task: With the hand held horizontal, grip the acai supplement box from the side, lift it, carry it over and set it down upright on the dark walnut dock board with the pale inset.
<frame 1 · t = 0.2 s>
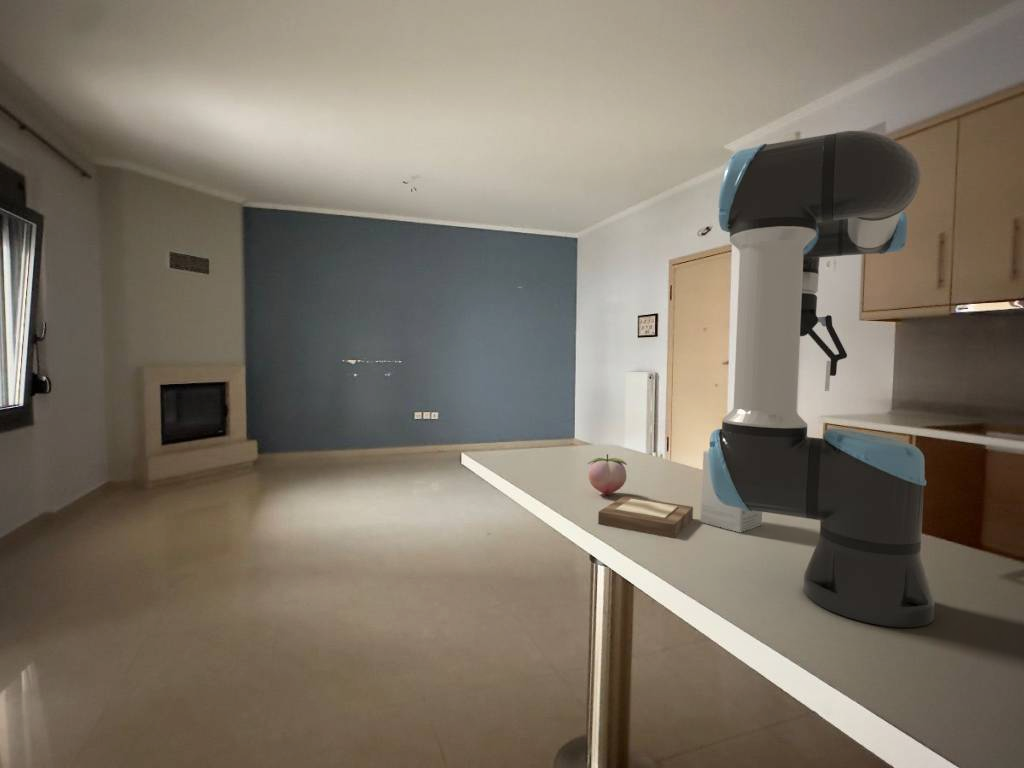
hand: (792, 389, 123), 27 cm above the table, tool pointing down, fingers open, 13 cm apart
supplement box: (731, 525, 111), on the table
dock: (646, 521, 112), on the table
decorative fruit: (606, 495, 133), on the table
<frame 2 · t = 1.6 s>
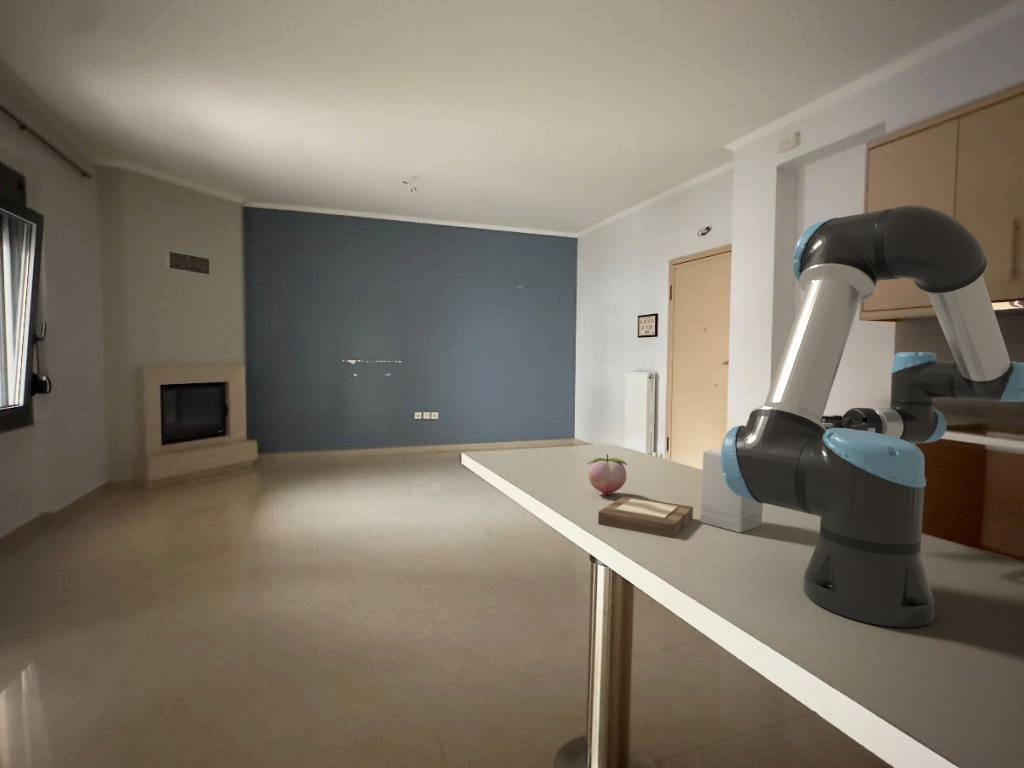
hand: (778, 426, 111), 20 cm above the table, tool horizontal, fingers open, 13 cm apart
nothing on the table moved.
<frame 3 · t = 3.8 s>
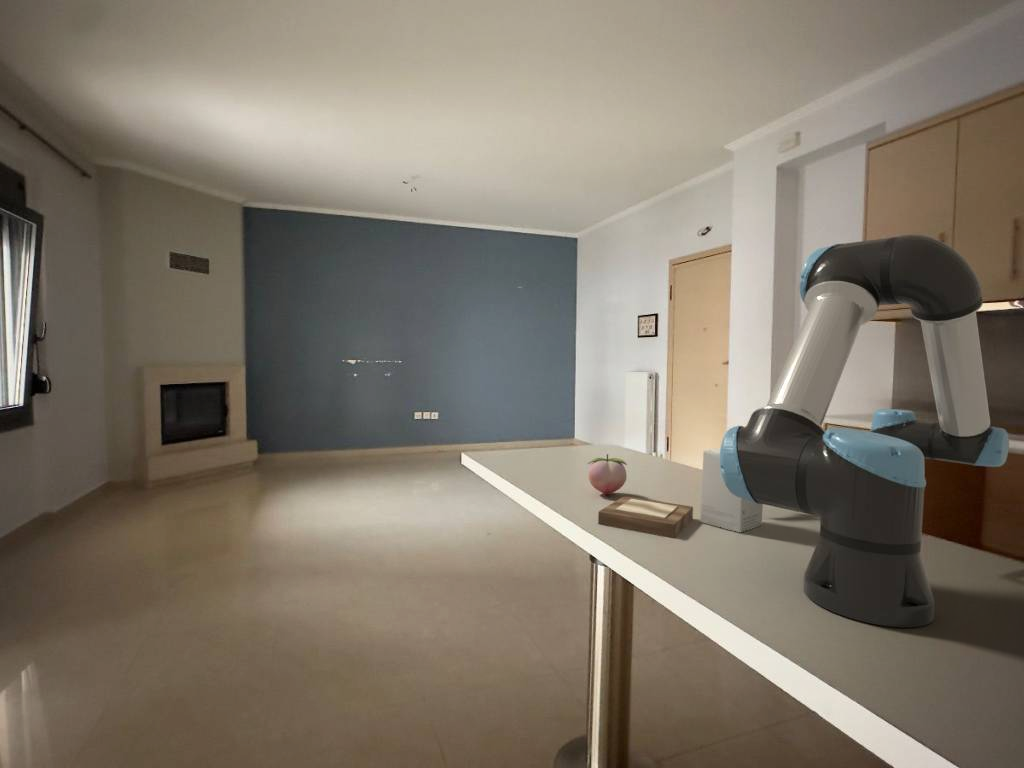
hand: (755, 484, 112), 8 cm above the table, tool horizontal, fingers open, 13 cm apart
nothing on the table moved.
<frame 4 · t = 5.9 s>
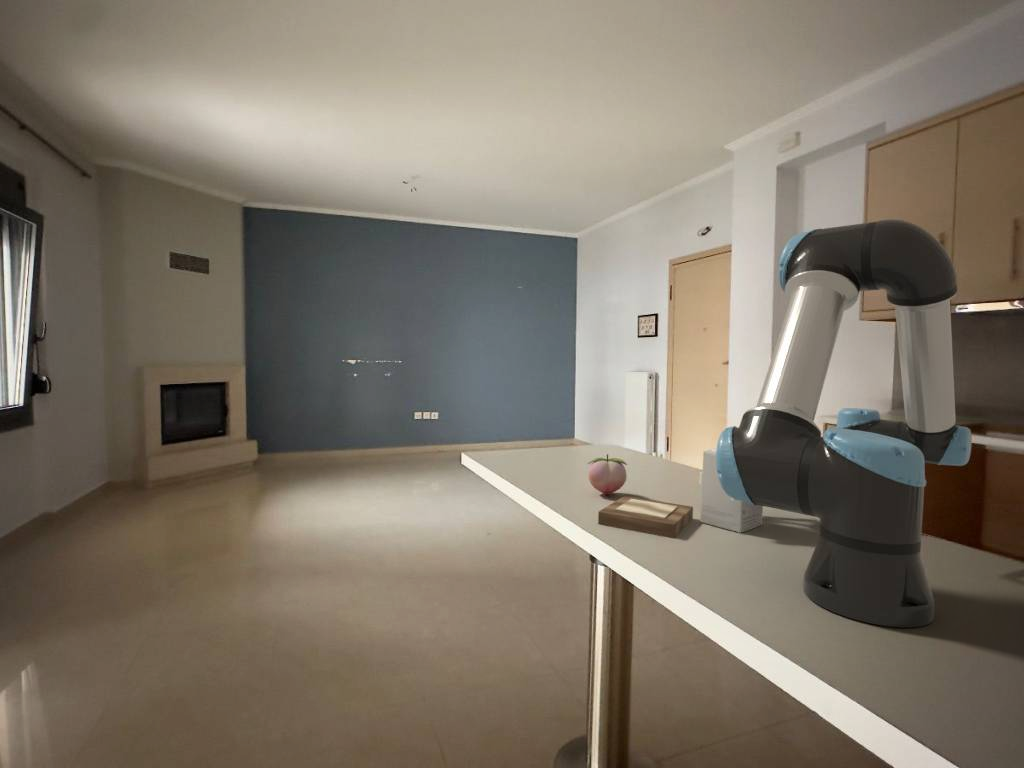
hand: (715, 485, 110), 8 cm above the table, tool horizontal, fingers closed on supplement box, 12 cm apart
supplement box: (731, 525, 111), on the table, touching gripper
everything else where it was.
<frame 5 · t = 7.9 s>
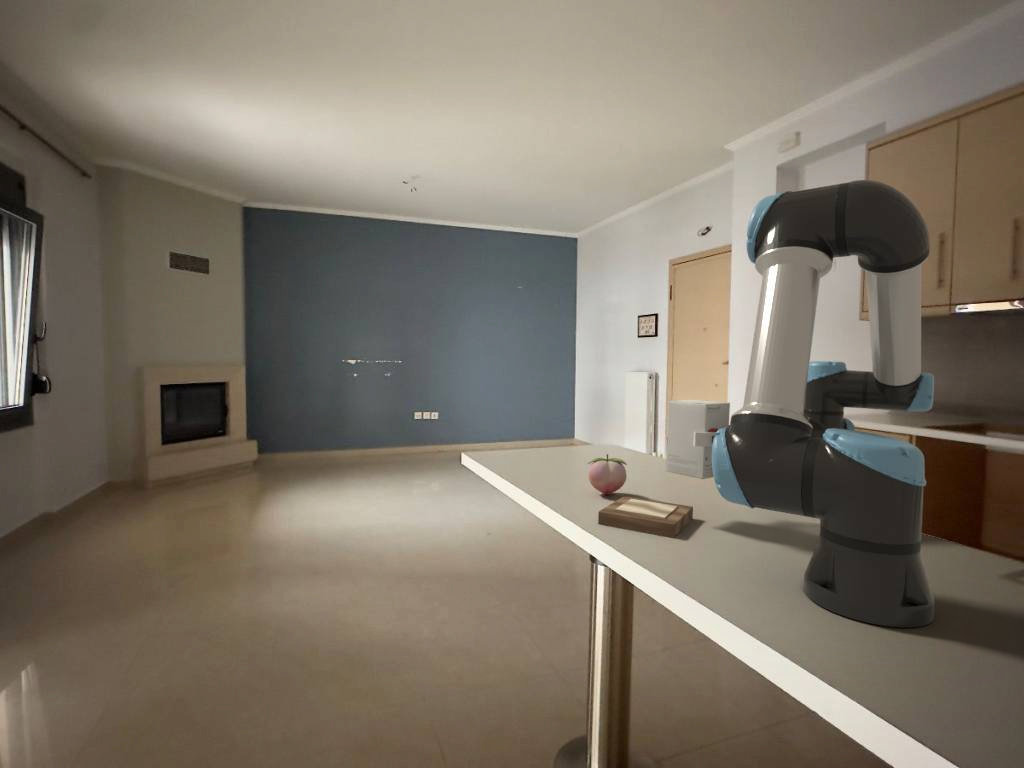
hand: (680, 434, 111), 18 cm above the table, tool horizontal, fingers closed on supplement box, 12 cm apart
supplement box: (696, 474, 112), point 10 cm above the table, touching gripper
everything else where it was.
when the fingers open (12 cm above the table, at t = 10.2 s): supplement box drops 1 cm, resting on dock.
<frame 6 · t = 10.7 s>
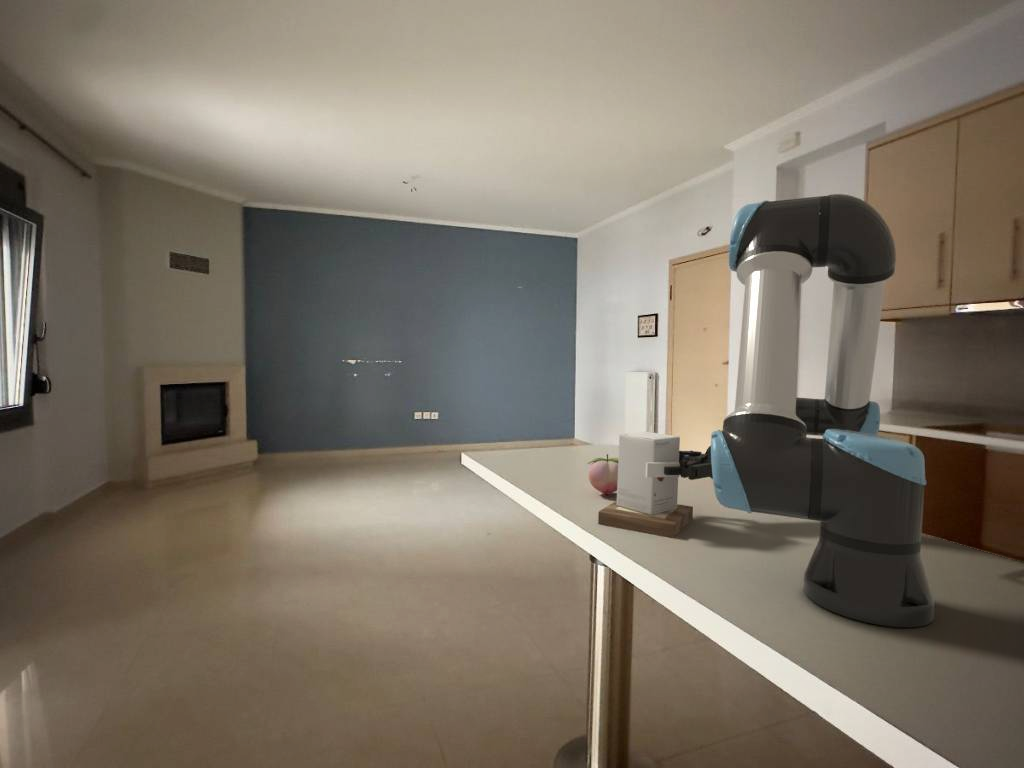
hand: (632, 463, 111), 12 cm above the table, tool horizontal, fingers open, 13 cm apart
supplement box: (646, 508, 112), point 3 cm above the table, touching dock
everything else where it was.
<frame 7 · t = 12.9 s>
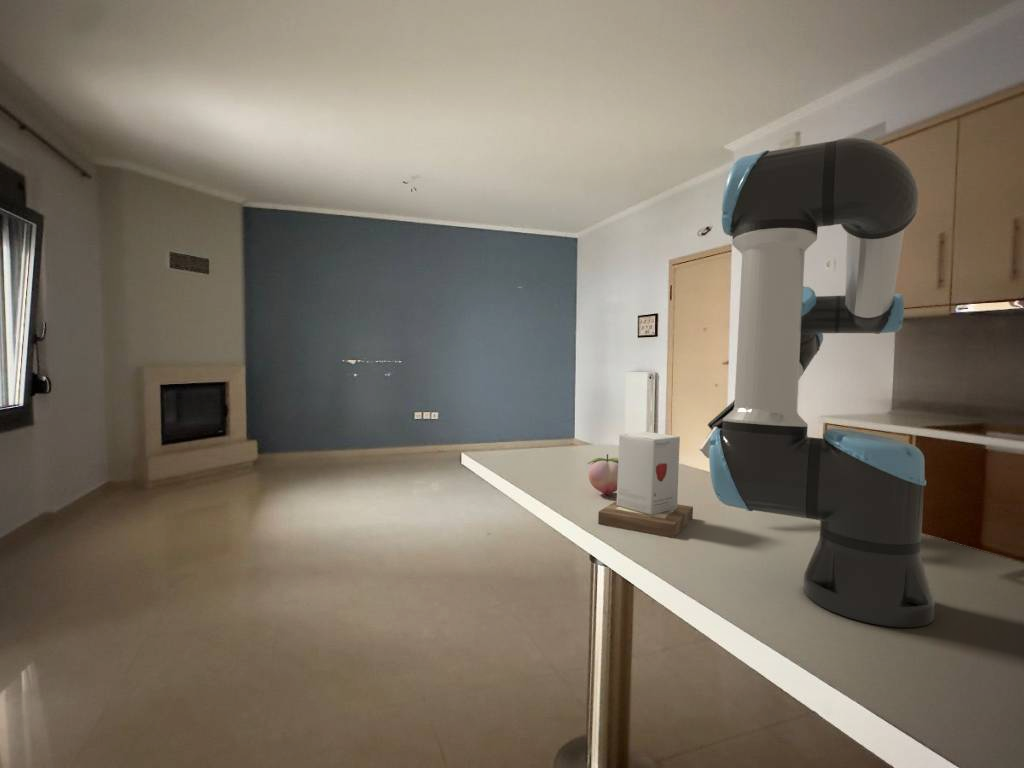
hand: (728, 453, 109), 15 cm above the table, tool tilted 45°, fingers open, 13 cm apart
nothing on the table moved.
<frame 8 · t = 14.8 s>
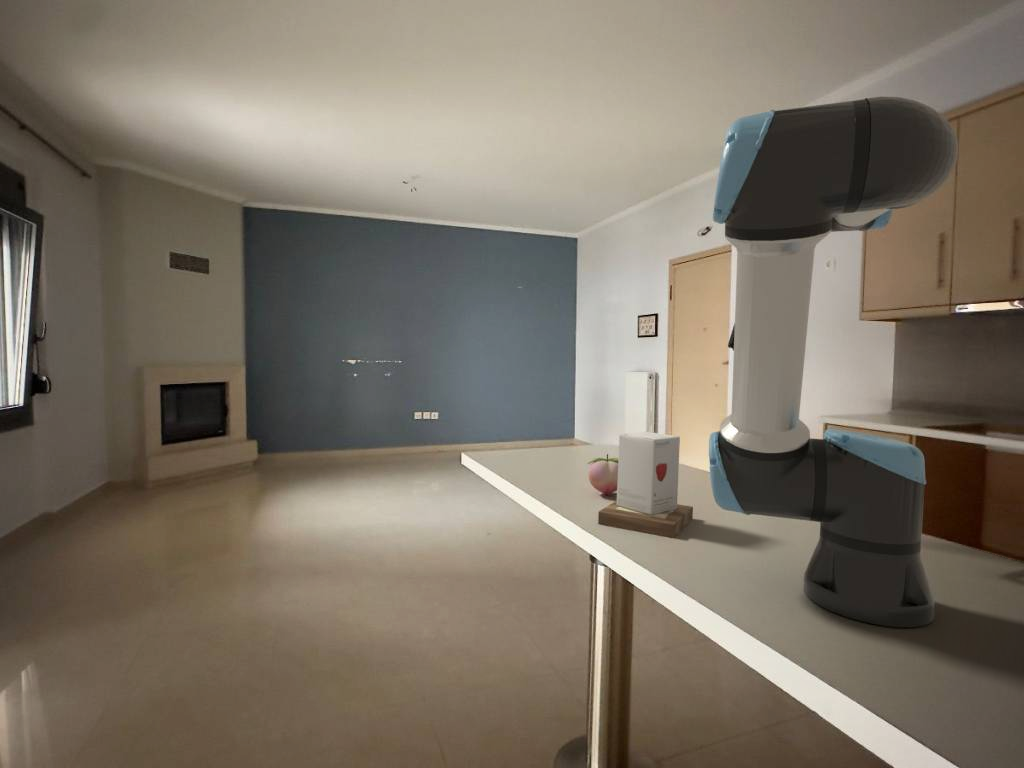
hand: (759, 383, 109), 29 cm above the table, tool pointing down, fingers open, 13 cm apart
nothing on the table moved.
at the end: supplement box inside the target area on the dock (0.1 cm from its centre), point 2.6 cm above the dock's base; supplement box tilted 0°; the gripper is holding nothing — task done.
